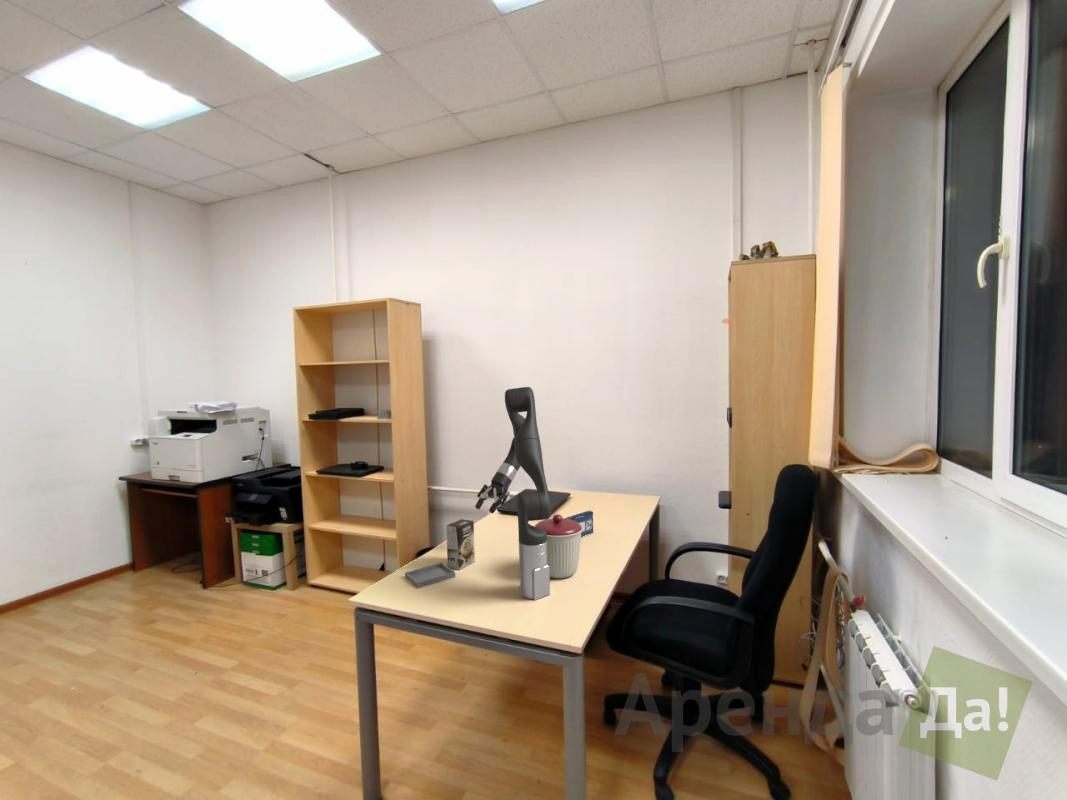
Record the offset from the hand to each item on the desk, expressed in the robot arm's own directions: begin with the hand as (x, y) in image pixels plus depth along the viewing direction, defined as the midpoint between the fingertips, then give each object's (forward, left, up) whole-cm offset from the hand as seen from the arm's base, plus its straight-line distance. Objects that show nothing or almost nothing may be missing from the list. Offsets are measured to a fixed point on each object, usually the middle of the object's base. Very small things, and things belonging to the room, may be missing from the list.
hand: (483, 510), depth 184 cm
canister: (-31, -13, -18) cm, 38 cm away
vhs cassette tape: (-8, -42, -19) cm, 46 cm away
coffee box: (-2, +11, -18) cm, 22 cm away
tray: (-5, +25, -18) cm, 32 cm away
